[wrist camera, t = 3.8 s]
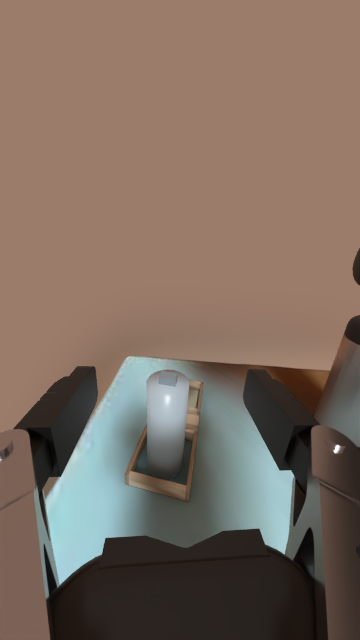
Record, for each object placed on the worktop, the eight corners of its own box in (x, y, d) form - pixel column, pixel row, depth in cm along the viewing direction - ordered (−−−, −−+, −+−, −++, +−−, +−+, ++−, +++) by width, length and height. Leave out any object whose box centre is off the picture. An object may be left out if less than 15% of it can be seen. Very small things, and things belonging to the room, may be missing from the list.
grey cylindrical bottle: (185, 446, 28) (192, 366, 24) (179, 484, 23) (186, 393, 19) (153, 439, 29) (154, 360, 24) (141, 474, 24) (139, 384, 20)
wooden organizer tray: (202, 389, 40) (203, 382, 40) (189, 501, 22) (190, 491, 21) (166, 383, 42) (167, 376, 41) (125, 484, 23) (124, 474, 23)
